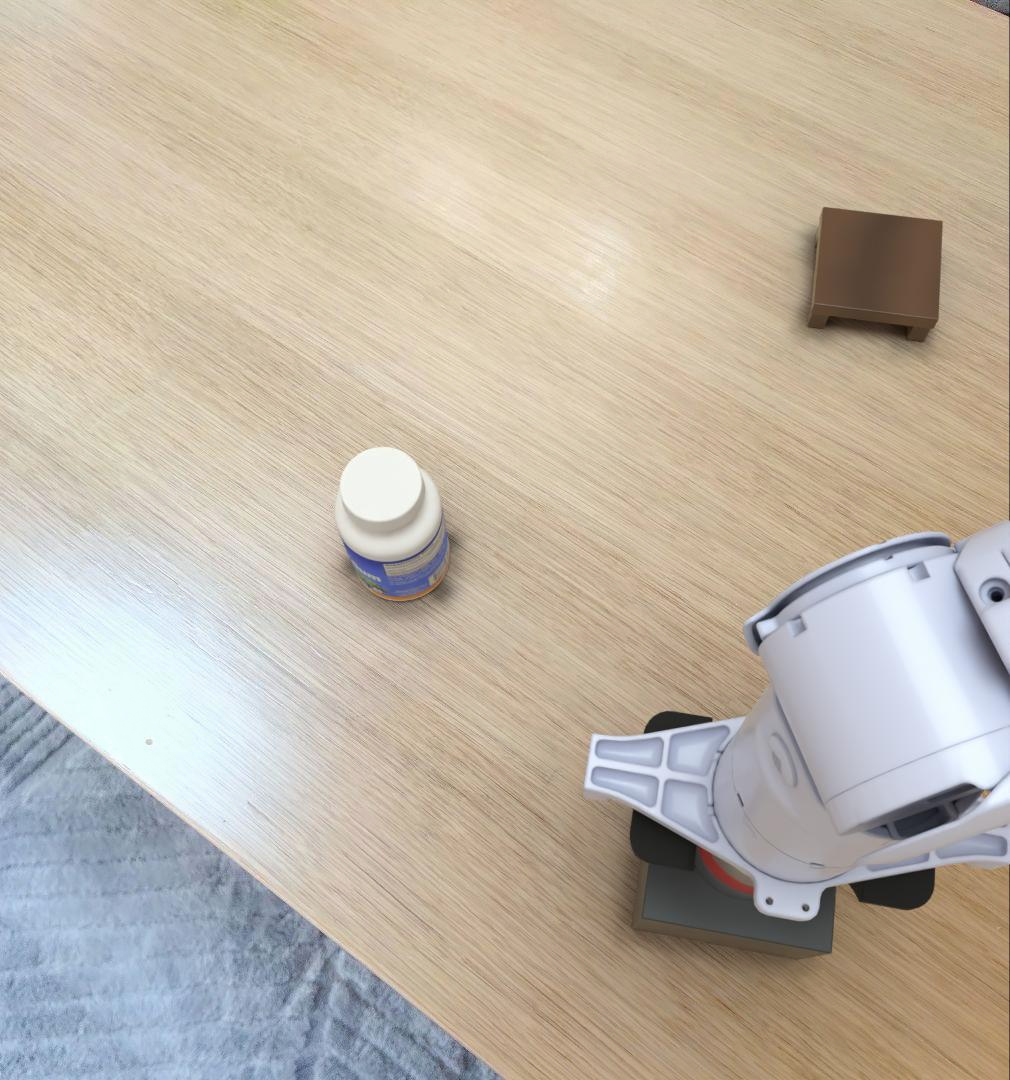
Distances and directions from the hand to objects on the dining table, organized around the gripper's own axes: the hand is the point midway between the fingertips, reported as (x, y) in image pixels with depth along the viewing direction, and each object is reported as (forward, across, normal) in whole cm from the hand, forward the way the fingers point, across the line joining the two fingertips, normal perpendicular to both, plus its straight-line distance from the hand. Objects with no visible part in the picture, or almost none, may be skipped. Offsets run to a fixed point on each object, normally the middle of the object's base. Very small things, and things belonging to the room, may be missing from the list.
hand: (752, 833), depth 47 cm
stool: (+9, +5, +35) cm, 36 cm away
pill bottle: (+9, -19, +13) cm, 25 cm away
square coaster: (+9, 0, 0) cm, 9 cm away
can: (+2, 0, 0) cm, 2 cm away
